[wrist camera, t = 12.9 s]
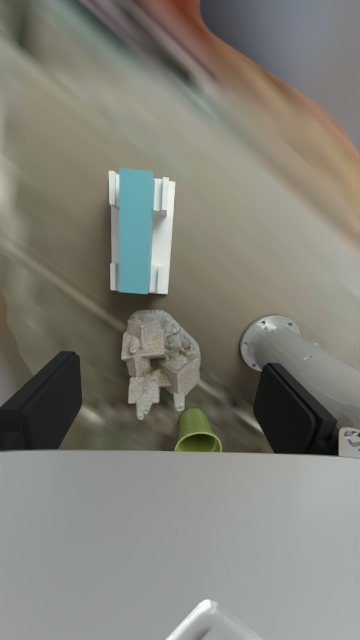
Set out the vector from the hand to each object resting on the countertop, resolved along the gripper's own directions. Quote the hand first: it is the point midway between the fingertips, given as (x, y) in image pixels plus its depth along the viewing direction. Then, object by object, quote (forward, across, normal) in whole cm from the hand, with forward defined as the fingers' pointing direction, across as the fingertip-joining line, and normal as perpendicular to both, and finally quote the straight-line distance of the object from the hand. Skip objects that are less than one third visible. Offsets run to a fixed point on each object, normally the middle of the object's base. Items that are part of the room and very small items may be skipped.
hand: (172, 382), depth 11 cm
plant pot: (+31, -8, +30) cm, 44 cm away
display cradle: (+30, +5, -8) cm, 31 cm away
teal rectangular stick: (+25, +5, -8) cm, 27 cm away
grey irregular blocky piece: (+31, 0, +12) cm, 33 cm away
